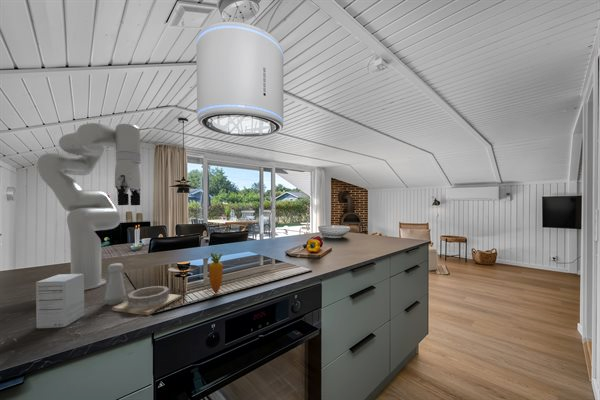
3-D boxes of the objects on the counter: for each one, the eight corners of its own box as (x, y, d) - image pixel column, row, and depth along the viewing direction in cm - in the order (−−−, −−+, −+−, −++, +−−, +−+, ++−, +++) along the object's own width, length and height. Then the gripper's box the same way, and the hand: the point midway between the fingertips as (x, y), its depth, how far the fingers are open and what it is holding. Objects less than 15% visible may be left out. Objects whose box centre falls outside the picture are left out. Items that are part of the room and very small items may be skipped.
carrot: (225, 291, 95) (225, 251, 95) (217, 296, 90) (217, 254, 90) (214, 290, 96) (214, 250, 97) (205, 295, 92) (205, 253, 92)
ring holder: (112, 310, 79) (112, 297, 79) (149, 294, 93) (149, 283, 93) (147, 315, 76) (147, 301, 76) (181, 298, 89) (181, 286, 89)
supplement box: (58, 316, 75) (58, 273, 76) (85, 315, 76) (85, 273, 76) (34, 329, 68) (34, 281, 68) (64, 327, 69) (64, 280, 69)
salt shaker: (114, 306, 82) (114, 266, 82) (99, 305, 83) (99, 265, 83) (130, 299, 88) (129, 262, 88) (116, 298, 89) (116, 261, 89)
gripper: (128, 162, 102) (129, 205, 101) (104, 154, 85) (105, 205, 84) (148, 162, 103) (149, 205, 103) (129, 154, 86) (130, 204, 86)
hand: (129, 205), depth 94 cm, fingers open, 9 cm apart
